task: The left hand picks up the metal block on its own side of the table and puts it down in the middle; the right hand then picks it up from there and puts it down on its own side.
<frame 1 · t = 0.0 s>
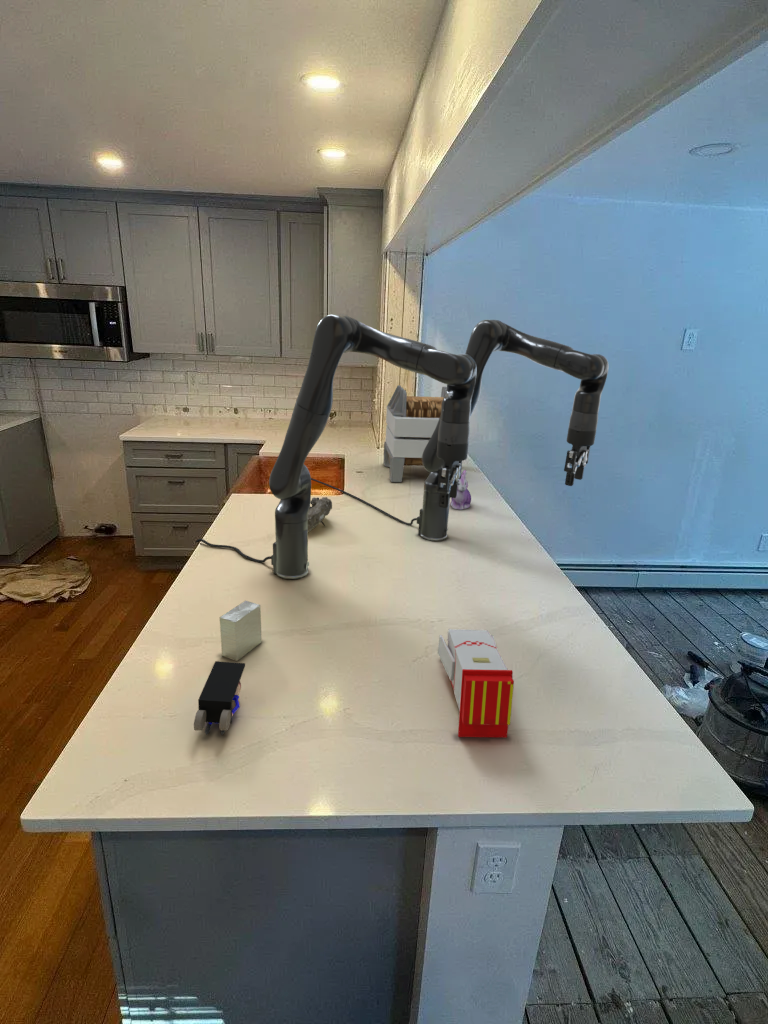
left hand: (447, 502, 143), 29 cm above the counter, tool pointing down, fingers open, 8 cm apart
right hand: (573, 482, 165), 29 cm above the counter, tool pointing down, fingers open, 8 cm apart
figurine: (460, 506, 231), on the counter
toy: (469, 691, 119), on the counter
block: (242, 648, 130), on the counter
fossil: (314, 525, 204), on the counter
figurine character: (222, 715, 109), on the counter
grey slatted box: (419, 473, 275), on the counter
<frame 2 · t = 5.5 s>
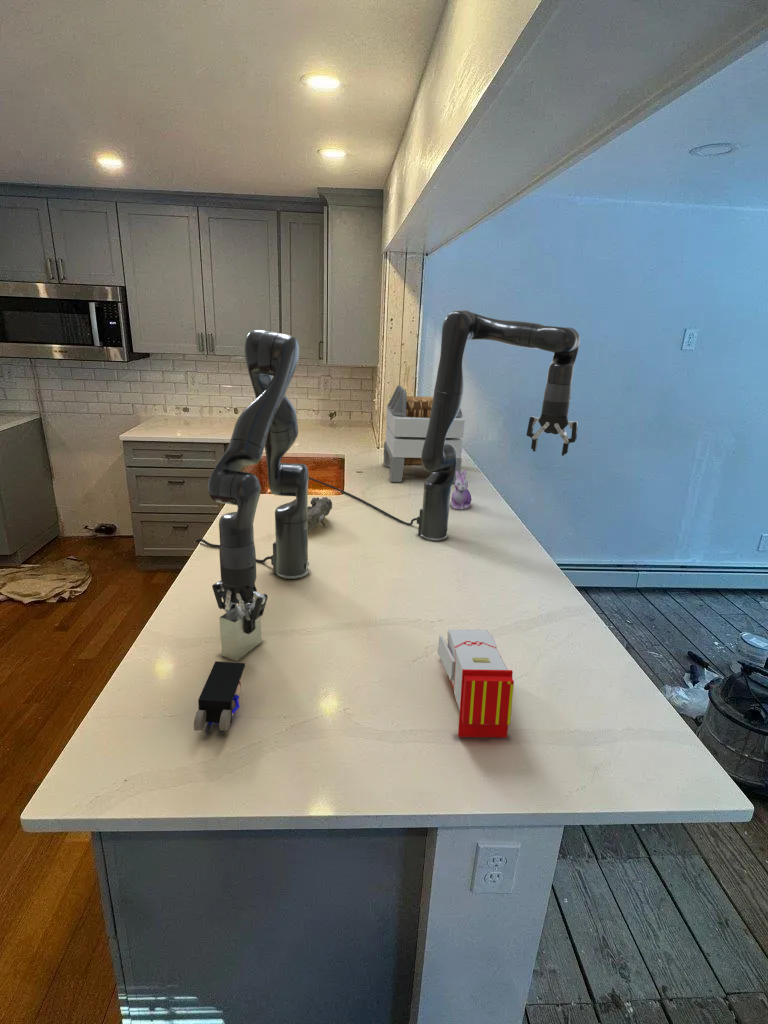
left hand: (241, 629, 128), 5 cm above the counter, tool pointing down, fingers closed on block, 4 cm apart
right hand: (548, 453, 171), 36 cm above the counter, tool pointing down, fingers open, 8 cm apart
block: (242, 648, 130), on the counter, touching left hand
everything else where it was.
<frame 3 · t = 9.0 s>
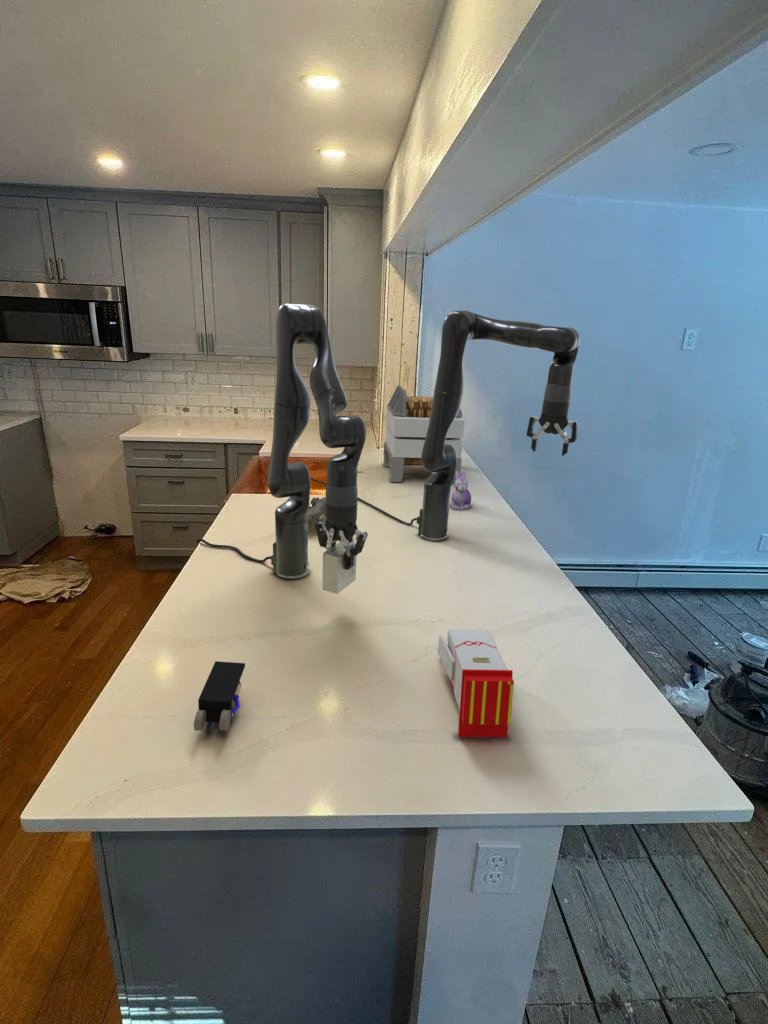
left hand: (340, 565, 139), 15 cm above the counter, tool pointing down, fingers closed on block, 4 cm apart
right hand: (548, 453, 171), 36 cm above the counter, tool pointing down, fingers open, 8 cm apart
block: (339, 584, 141), point 9 cm above the counter, touching left hand
everything else where it was.
when the left hand's fingers open (6 cm above the counter, at t = 12.5 s): block stays where it is, on the counter.
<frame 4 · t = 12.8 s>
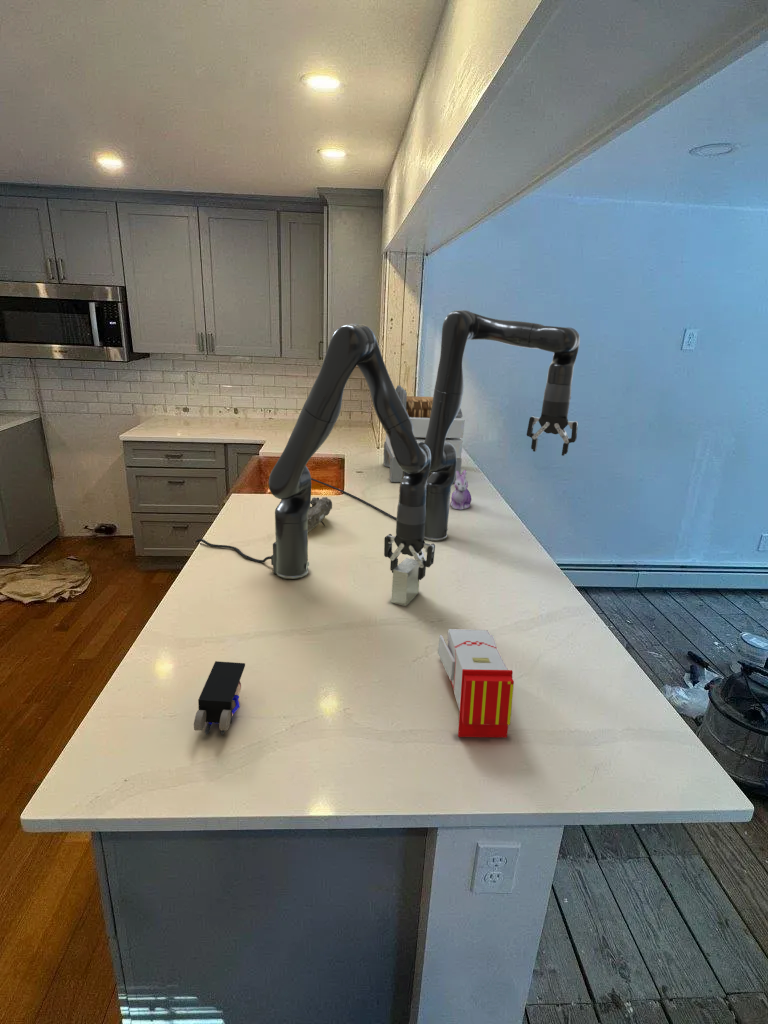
left hand: (407, 575, 154), 7 cm above the counter, tool pointing down, fingers open, 7 cm apart
right hand: (548, 453, 171), 36 cm above the counter, tool pointing down, fingers open, 8 cm apart
block: (405, 597, 156), on the counter
everything else where it was.
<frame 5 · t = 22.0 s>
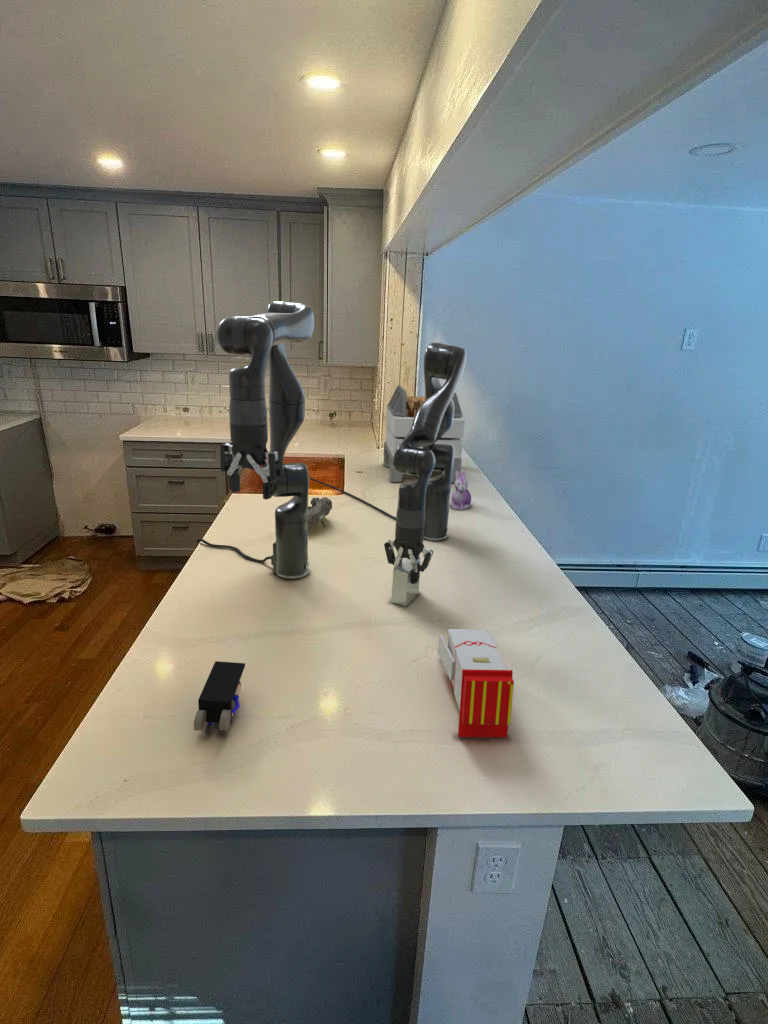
left hand: (251, 495, 122), 36 cm above the counter, tool pointing down, fingers open, 8 cm apart
right hand: (406, 580, 154), 5 cm above the counter, tool pointing down, fingers closed on block, 4 cm apart
block: (405, 597, 156), on the counter, touching right hand
everything else where it was.
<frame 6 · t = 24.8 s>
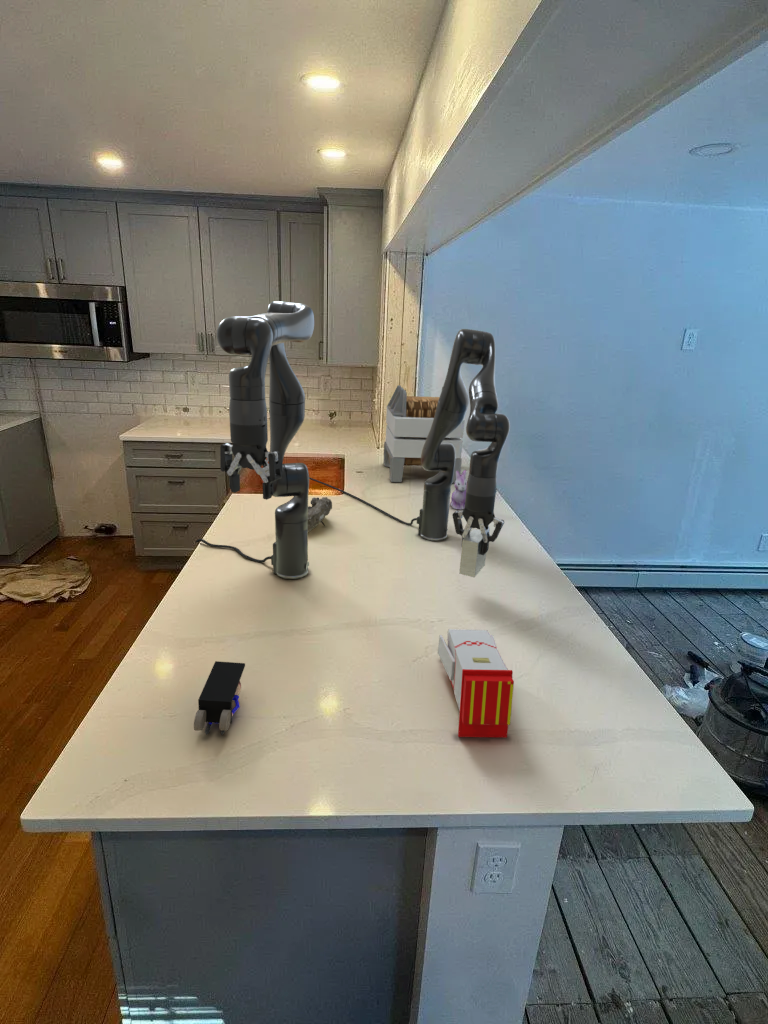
left hand: (251, 495, 122), 36 cm above the counter, tool pointing down, fingers open, 8 cm apart
right hand: (474, 551, 151), 15 cm above the counter, tool pointing down, fingers closed on block, 4 cm apart
block: (472, 569, 153), point 9 cm above the counter, touching right hand
everything else where it was.
when the right hand's fingers open (6 cm above the counter, at t = 27.5 s): block stays where it is, on the counter.
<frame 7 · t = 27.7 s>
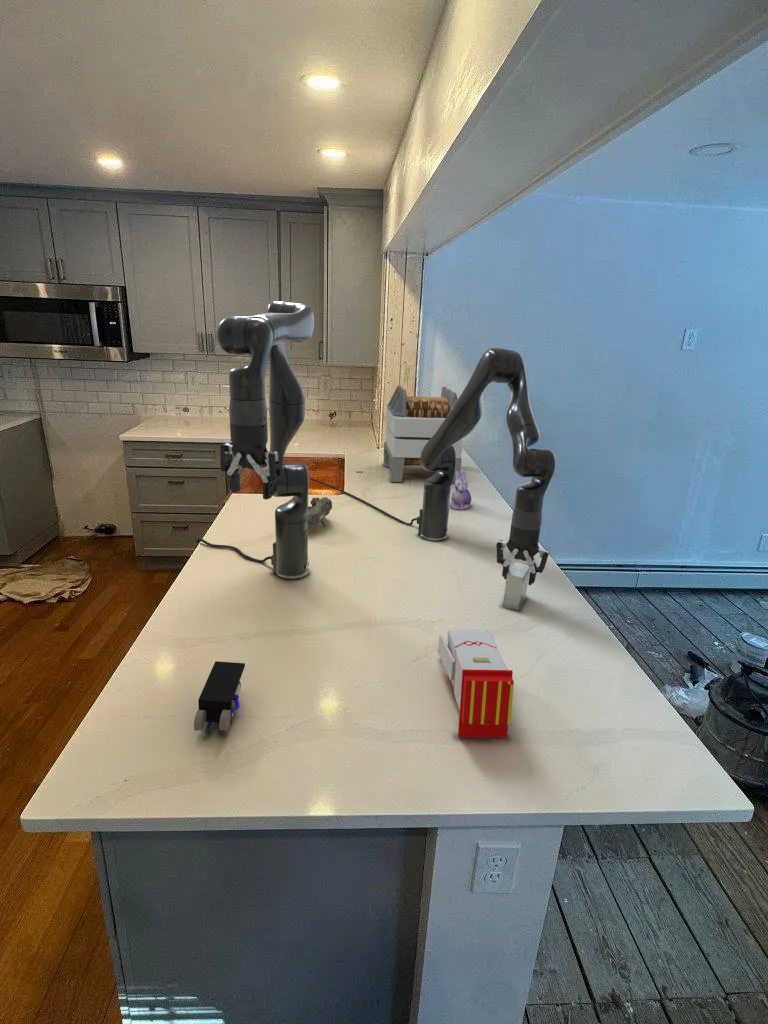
left hand: (251, 495, 122), 36 cm above the counter, tool pointing down, fingers open, 8 cm apart
right hand: (518, 580, 154), 7 cm above the counter, tool pointing down, fingers open, 6 cm apart
block: (514, 602, 156), on the counter
everything else where it was.
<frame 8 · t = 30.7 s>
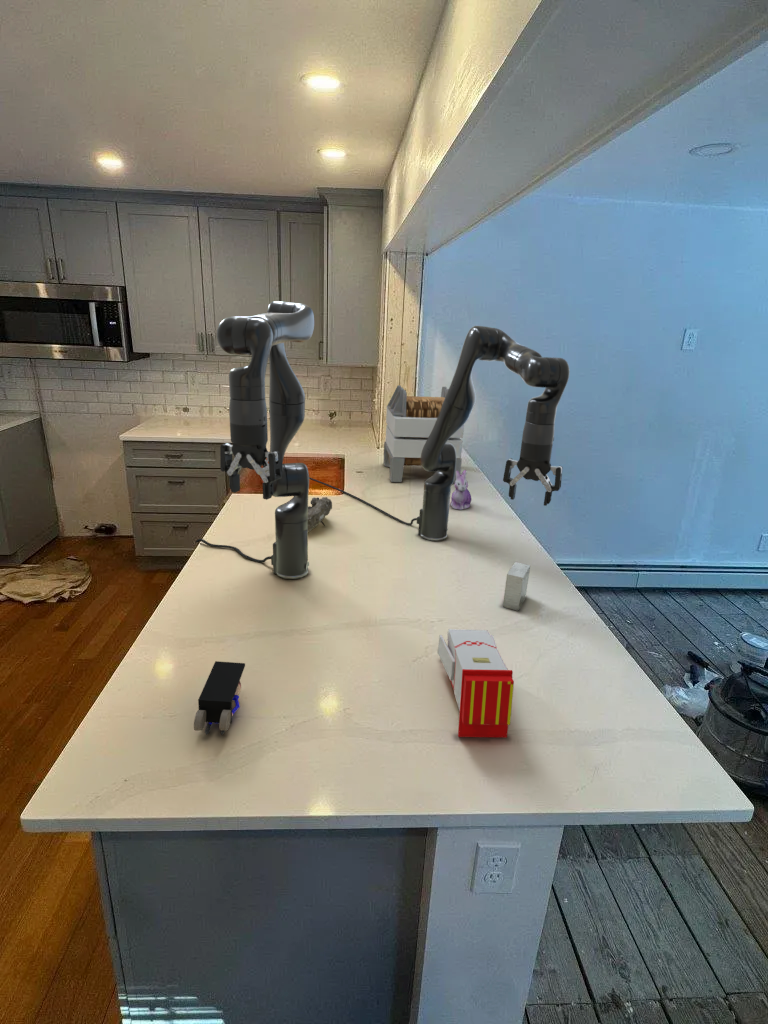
left hand: (251, 495, 122), 36 cm above the counter, tool pointing down, fingers open, 8 cm apart
right hand: (529, 501, 146), 29 cm above the counter, tool pointing down, fingers open, 8 cm apart
nothing on the counter moved.
at the end: block inside the target area (0.3 cm from its centre), on the counter; block tilted 0°; the two hands never held the block at the same time; the left hand is holding nothing; the right hand is holding nothing; block at rest at the end (0.0 cm/s) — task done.
